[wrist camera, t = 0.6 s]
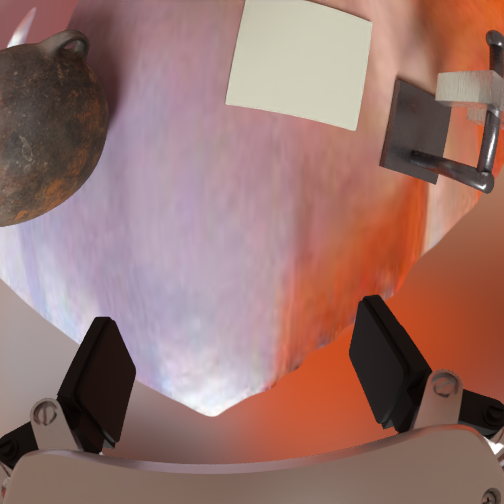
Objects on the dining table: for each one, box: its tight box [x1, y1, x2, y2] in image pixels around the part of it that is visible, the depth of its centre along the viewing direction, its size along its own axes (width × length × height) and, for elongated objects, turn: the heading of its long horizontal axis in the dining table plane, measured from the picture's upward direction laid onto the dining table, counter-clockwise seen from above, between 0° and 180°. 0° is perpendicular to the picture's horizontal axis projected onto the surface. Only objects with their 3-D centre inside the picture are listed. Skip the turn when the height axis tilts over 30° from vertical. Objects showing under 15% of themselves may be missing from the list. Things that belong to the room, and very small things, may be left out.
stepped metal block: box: [435, 70, 504, 129], centre depth 20 cm, size 4×8×14 cm, turn 80°
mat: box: [225, 0, 372, 131], centre depth 31 cm, size 18×18×1 cm
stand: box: [379, 30, 504, 194], centre depth 27 cm, size 24×11×18 cm, turn 170°
